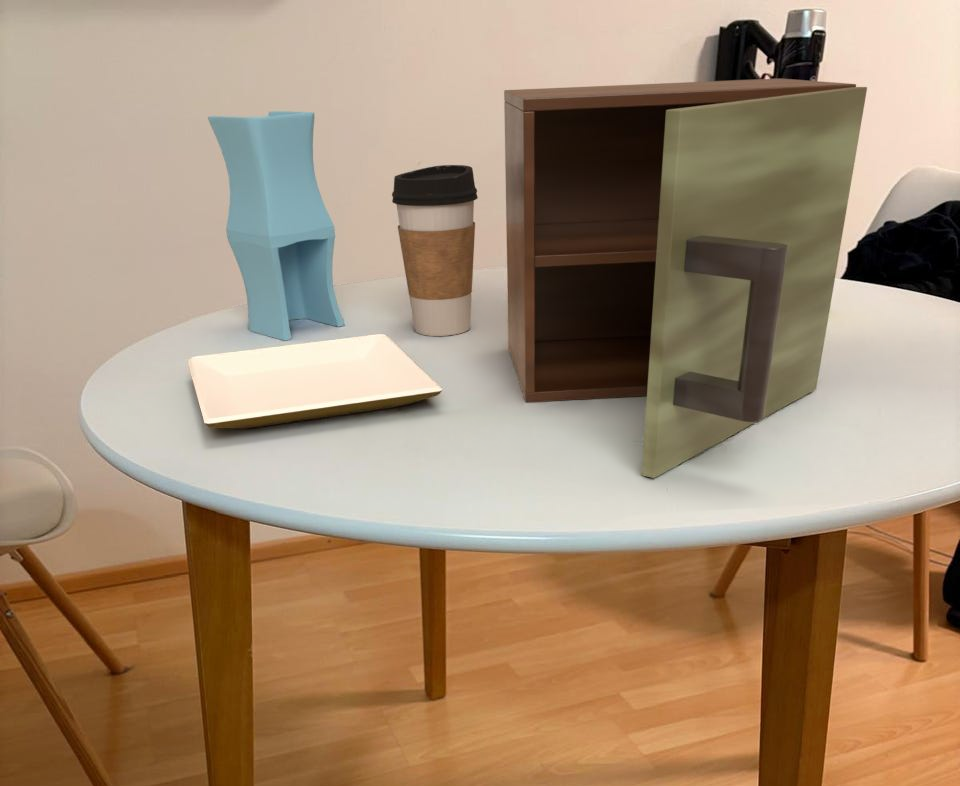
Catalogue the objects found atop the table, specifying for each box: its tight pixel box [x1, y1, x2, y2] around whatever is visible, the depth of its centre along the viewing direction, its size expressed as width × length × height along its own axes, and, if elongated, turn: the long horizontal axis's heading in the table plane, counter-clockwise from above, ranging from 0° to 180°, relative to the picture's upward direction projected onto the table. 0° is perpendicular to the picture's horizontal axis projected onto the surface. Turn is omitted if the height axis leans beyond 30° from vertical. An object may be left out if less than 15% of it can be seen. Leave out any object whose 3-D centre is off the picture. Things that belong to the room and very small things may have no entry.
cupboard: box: [503, 78, 857, 403], centre depth 76 cm, size 16×24×22 cm
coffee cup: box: [391, 164, 479, 337], centre depth 92 cm, size 8×8×15 cm
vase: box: [207, 110, 346, 342], centre depth 93 cm, size 8×8×20 cm
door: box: [641, 86, 868, 479], centre depth 60 cm, size 7×24×21 cm, turn 137°
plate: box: [186, 333, 443, 430], centre depth 78 cm, size 19×19×2 cm
